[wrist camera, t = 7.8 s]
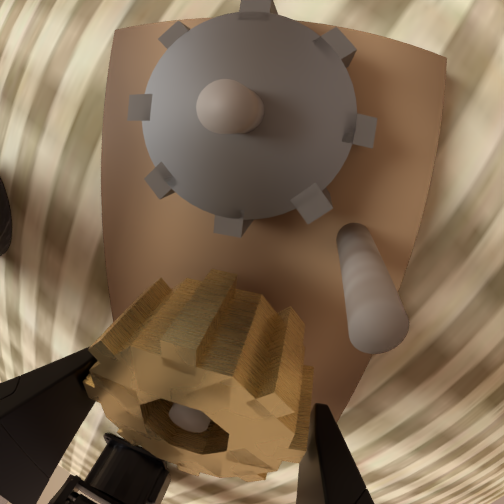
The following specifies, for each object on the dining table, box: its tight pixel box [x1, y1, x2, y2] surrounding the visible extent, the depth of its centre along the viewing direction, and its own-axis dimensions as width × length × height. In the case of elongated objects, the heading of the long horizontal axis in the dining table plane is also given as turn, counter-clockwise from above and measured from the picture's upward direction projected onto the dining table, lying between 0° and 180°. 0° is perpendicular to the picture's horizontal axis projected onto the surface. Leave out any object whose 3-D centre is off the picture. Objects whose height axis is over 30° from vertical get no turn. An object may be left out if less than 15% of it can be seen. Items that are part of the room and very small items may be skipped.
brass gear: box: [83, 269, 314, 482], centre depth 9 cm, size 7×7×4 cm
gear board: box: [101, 0, 447, 433], centre depth 9 cm, size 12×17×6 cm
